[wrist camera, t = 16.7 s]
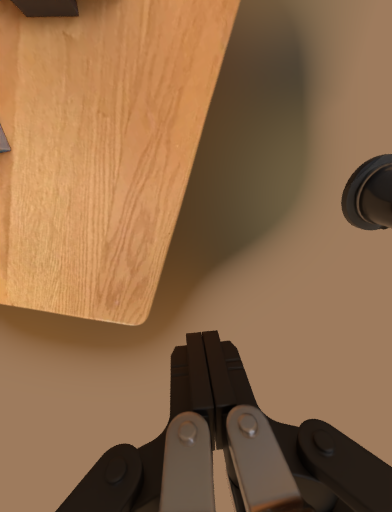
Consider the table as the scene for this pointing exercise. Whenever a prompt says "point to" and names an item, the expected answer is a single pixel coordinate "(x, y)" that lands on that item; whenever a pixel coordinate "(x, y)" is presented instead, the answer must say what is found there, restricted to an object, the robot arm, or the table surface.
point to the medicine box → (3, 142)
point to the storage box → (47, 7)
